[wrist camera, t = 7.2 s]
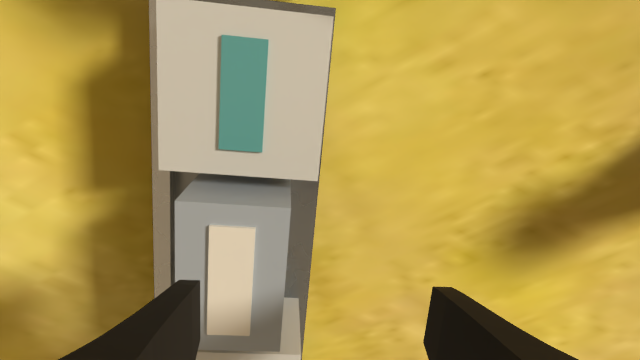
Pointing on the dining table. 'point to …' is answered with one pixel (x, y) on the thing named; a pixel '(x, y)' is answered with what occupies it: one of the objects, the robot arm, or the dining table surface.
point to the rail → (175, 182)
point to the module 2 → (287, 356)
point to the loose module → (235, 257)
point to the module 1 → (241, 89)
